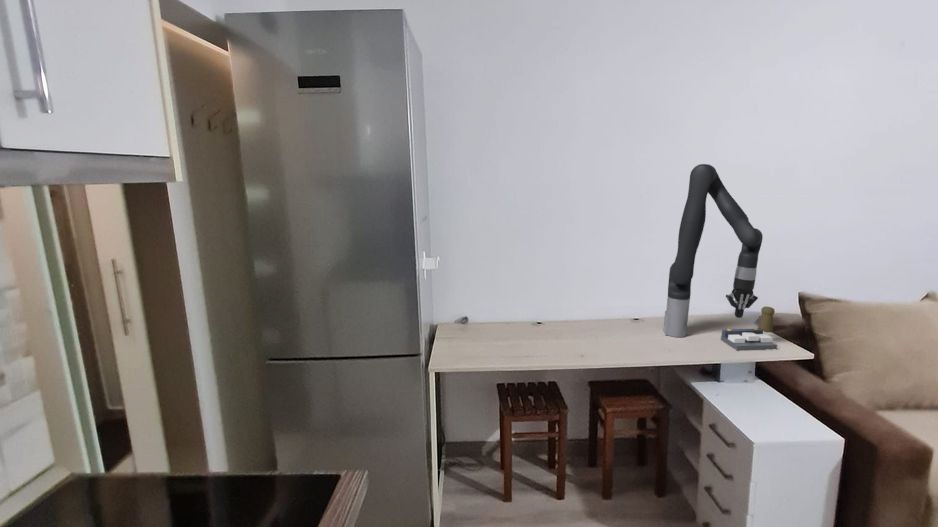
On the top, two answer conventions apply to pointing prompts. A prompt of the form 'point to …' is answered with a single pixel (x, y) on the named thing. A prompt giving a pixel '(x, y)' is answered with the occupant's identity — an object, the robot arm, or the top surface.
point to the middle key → (750, 336)
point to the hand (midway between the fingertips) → (738, 317)
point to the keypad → (748, 344)
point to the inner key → (736, 338)
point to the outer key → (764, 338)
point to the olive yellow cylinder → (766, 319)
